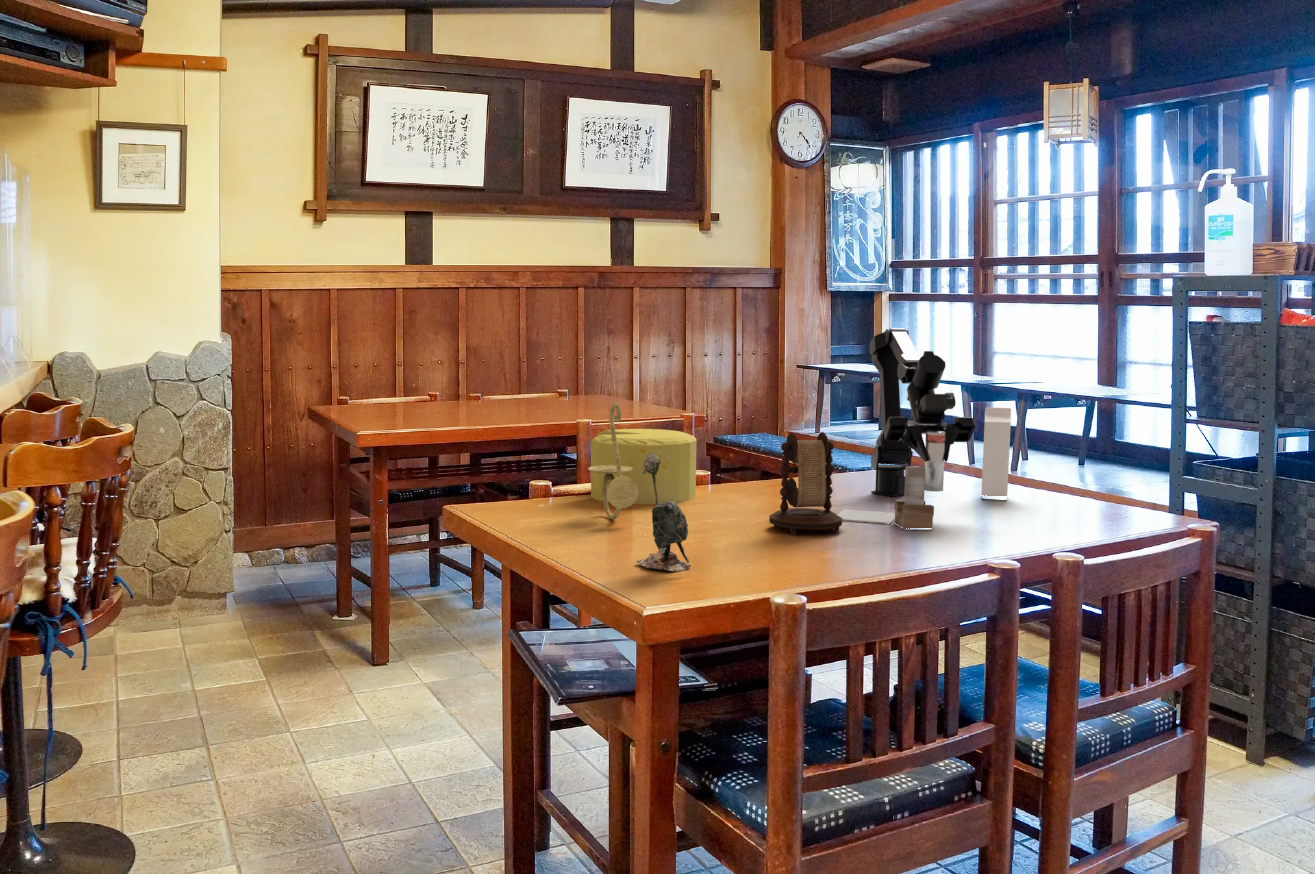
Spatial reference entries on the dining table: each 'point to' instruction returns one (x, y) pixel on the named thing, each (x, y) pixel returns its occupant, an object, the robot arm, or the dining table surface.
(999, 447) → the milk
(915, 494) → the white candle wooden holder
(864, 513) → the grey mat
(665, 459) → the cheese
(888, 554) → the dining table surface
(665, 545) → the stone figurine
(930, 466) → the silver cylinder copper band
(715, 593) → the dining table surface
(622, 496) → the wall sconce
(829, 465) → the beaded wooden stand
